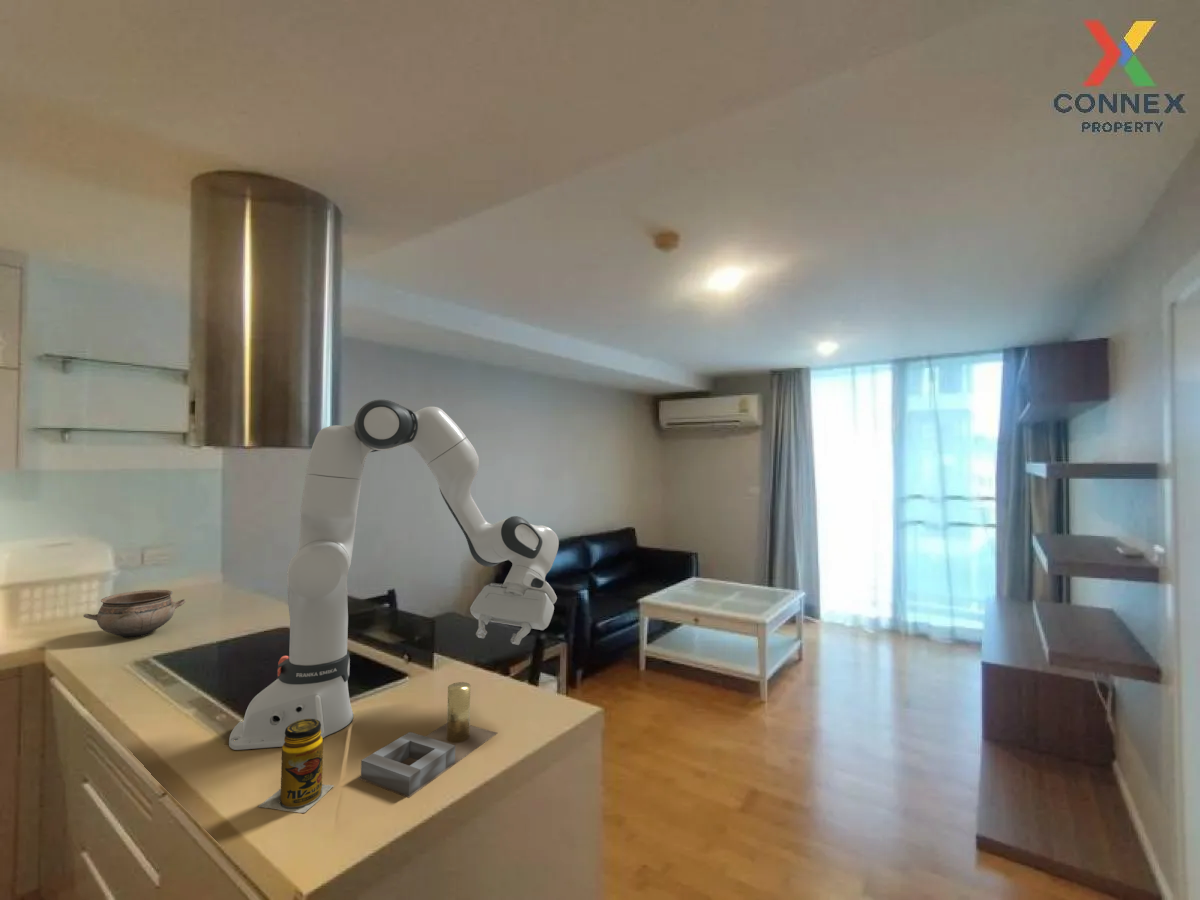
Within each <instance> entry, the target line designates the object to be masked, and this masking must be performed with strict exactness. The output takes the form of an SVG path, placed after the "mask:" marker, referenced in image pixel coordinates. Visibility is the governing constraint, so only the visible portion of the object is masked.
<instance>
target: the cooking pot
mask: <svg viewBox="0 0 1200 900" xmlns="http://www.w3.org/2000/svg"><path fill="white" fill-rule="evenodd" d="M171 595H173V591H172V590H168V589H147V590H137V591H135V590H134V591H128V592H123V593H117V594H113V595H112V594H111V595H109V596H108V595H107V596H106V597H103V598H101V599H100V602H101V603H102V604H101V606H100V608H99V610H98V613H97V614H95V613H94V614H91V613H84V614H83V618H86V619H88V620H93V621H96V623H97V625H98V627H99V628H100V629H101V630H103V631H105V632H107V633H109V634H112V635H116V636H118V637H122V638H125V639H126V638H127V639H130V638H138V637H139V638H140V637H143V636H144V637H145V636H147V635H150V634H151V633H152V632H154V631H156V630H157V629H160V627H161V628H162V626H164V625H166V624H167V623H168V622H169V621H170V620H171V619H172V617H173V616H174V613H175V611H176V609H178V608H179V607H181V606H182V605H184V604H185V603H186V602H187V600H186V599H180V600H177V601H174V600H173V597H172V596H171Z"/></svg>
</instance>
